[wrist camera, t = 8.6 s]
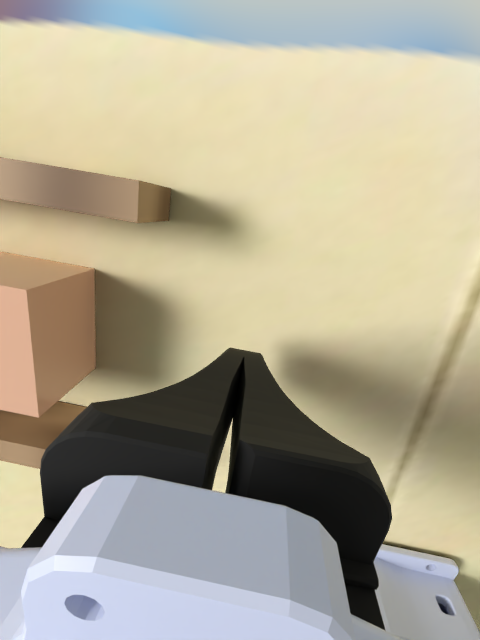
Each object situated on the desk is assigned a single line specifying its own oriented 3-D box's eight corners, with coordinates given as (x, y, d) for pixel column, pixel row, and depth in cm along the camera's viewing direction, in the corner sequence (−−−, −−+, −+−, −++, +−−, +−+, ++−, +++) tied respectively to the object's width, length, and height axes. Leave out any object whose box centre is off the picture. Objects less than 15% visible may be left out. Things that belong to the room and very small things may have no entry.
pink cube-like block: (96, 268, 13) (26, 289, 9) (97, 366, 15) (38, 417, 11) (-11, 248, 13) (-121, 262, 10) (2, 347, 15) (-86, 392, 11)
